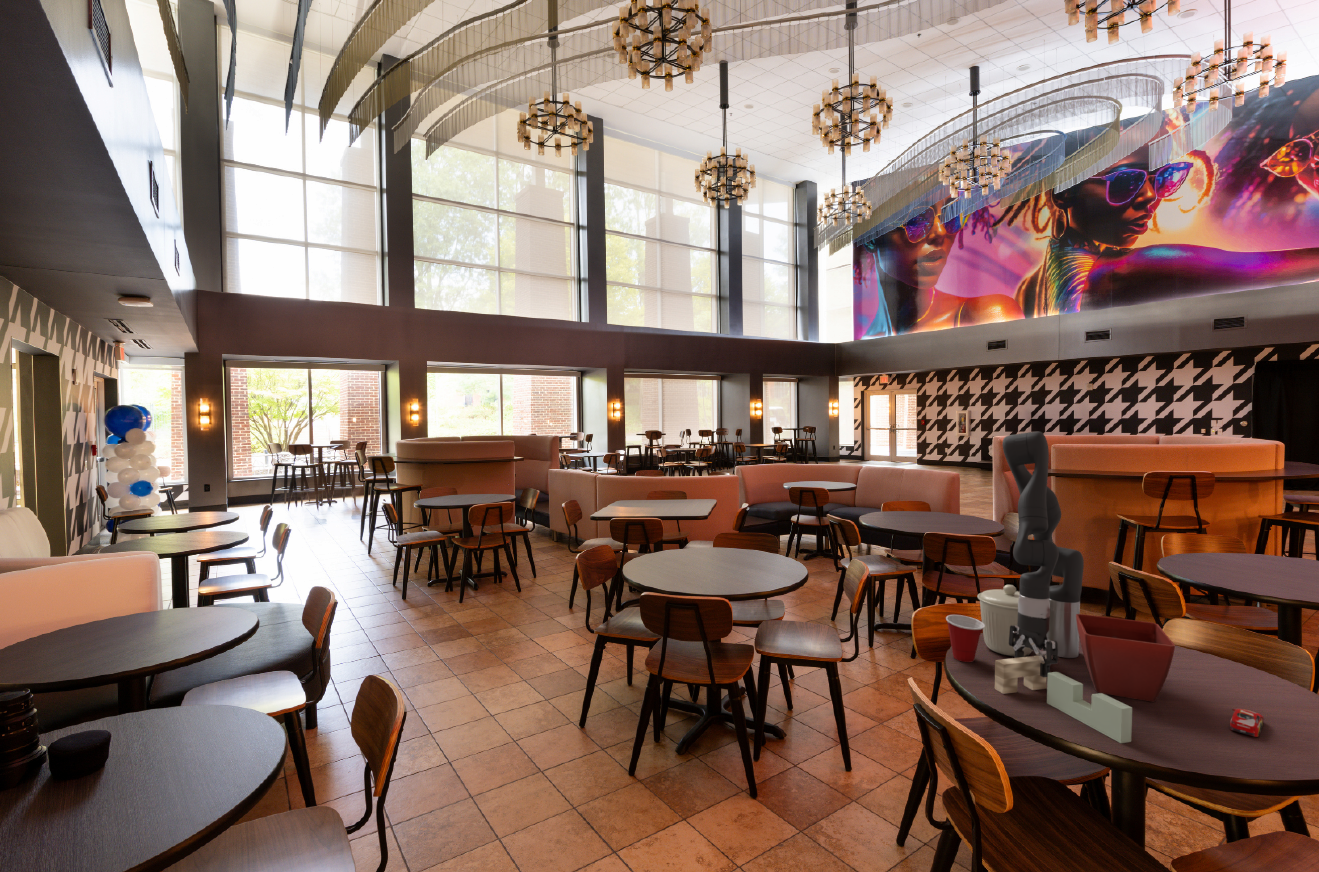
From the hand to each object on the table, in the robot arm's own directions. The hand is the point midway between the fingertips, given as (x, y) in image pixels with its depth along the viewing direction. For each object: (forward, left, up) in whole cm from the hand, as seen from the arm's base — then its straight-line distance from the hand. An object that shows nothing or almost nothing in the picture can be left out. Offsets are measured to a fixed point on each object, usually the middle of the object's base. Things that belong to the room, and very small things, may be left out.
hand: (1031, 670), depth 169 cm
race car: (-21, +39, -5) cm, 45 cm away
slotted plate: (+4, -1, -5) cm, 6 cm away
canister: (-21, -17, -5) cm, 28 cm away
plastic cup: (-3, -21, -5) cm, 22 cm away
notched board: (+9, +17, -5) cm, 20 cm away
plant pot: (-19, +14, -5) cm, 24 cm away
